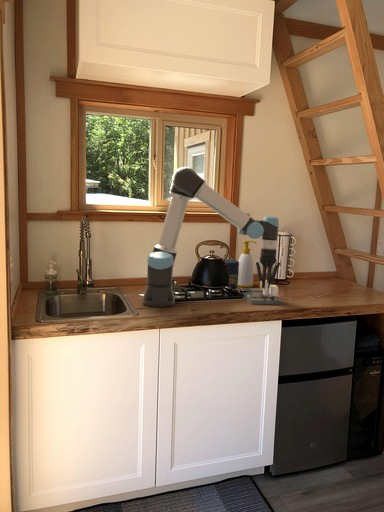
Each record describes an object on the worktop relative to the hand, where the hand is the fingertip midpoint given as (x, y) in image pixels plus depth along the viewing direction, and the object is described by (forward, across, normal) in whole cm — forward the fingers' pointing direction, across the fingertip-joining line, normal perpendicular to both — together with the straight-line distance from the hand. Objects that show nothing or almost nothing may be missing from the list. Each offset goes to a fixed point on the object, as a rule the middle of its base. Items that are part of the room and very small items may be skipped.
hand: (264, 294), depth 218 cm
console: (+4, -1, +7) cm, 8 cm away
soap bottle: (+4, -1, +36) cm, 36 cm away
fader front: (+1, +4, 0) cm, 5 cm away
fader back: (+1, +4, +13) cm, 14 cm away
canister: (+4, -14, +20) cm, 25 cm away
